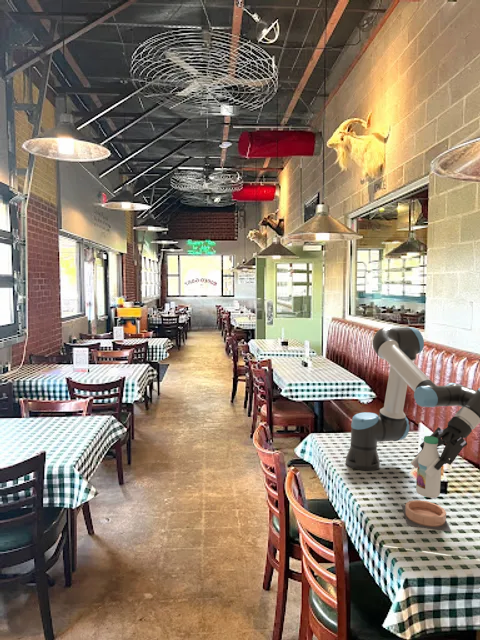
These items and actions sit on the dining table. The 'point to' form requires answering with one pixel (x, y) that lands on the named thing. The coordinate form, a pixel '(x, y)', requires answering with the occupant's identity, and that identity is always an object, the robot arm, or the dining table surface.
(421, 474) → the milk bottle
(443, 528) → the mat
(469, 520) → the dining table surface
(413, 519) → the bowl
